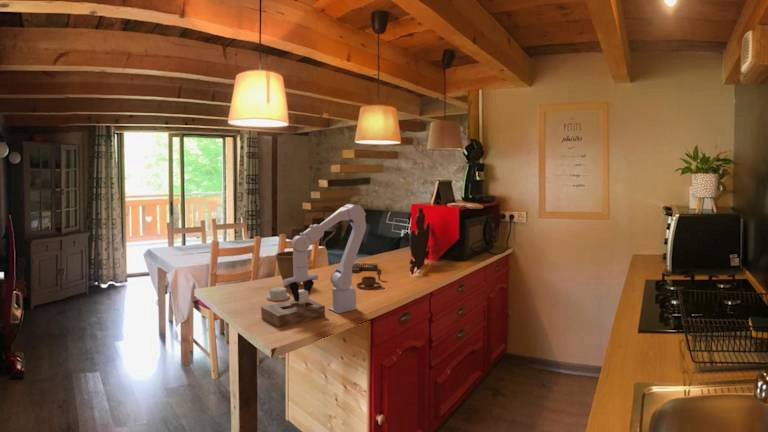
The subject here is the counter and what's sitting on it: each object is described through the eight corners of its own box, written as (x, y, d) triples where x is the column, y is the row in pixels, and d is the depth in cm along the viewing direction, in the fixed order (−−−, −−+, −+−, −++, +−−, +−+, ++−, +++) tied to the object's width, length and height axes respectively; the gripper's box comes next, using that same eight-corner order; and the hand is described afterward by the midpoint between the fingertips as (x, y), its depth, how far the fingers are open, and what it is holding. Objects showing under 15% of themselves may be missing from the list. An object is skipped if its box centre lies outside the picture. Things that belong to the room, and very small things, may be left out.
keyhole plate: (306, 308, 201) (306, 297, 201) (325, 316, 190) (324, 305, 189) (261, 317, 189) (261, 306, 189) (278, 327, 177) (277, 315, 177)
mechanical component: (281, 294, 225) (262, 298, 218) (281, 285, 224) (262, 289, 217) (293, 298, 217) (274, 302, 211) (293, 288, 217) (273, 293, 210)
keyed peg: (304, 309, 195) (304, 288, 194) (310, 311, 191) (310, 291, 190) (293, 311, 192) (292, 290, 191) (299, 314, 188) (298, 293, 187)
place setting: (348, 286, 240) (348, 274, 239) (378, 279, 253) (378, 268, 252) (370, 293, 226) (370, 280, 226) (401, 285, 239) (401, 274, 239)
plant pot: (283, 280, 250) (282, 250, 249) (310, 281, 248) (309, 251, 246) (272, 287, 236) (270, 255, 234) (301, 288, 233) (300, 256, 232)
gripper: (311, 262, 197) (312, 294, 199) (279, 267, 188) (280, 301, 190) (320, 265, 192) (321, 298, 193) (287, 270, 183) (288, 304, 184)
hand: (301, 299), depth 191 cm, fingers closed on keyed peg, 4 cm apart
